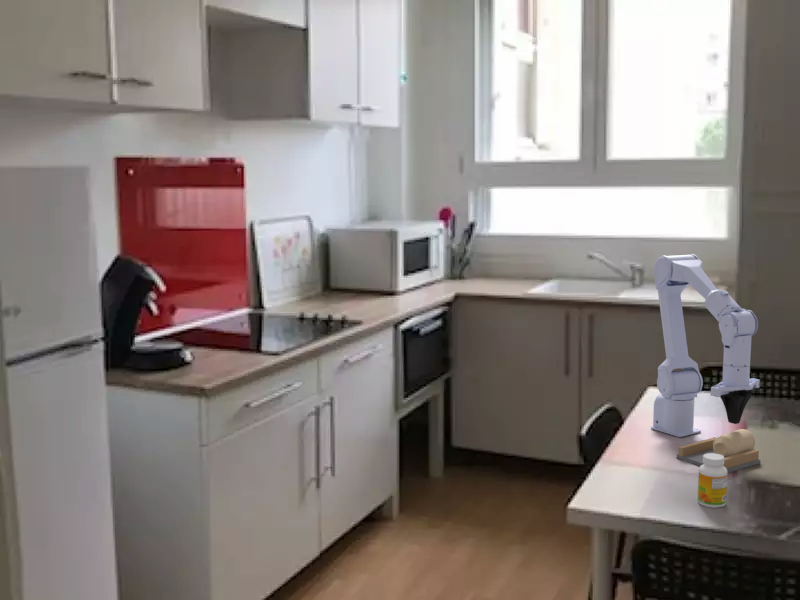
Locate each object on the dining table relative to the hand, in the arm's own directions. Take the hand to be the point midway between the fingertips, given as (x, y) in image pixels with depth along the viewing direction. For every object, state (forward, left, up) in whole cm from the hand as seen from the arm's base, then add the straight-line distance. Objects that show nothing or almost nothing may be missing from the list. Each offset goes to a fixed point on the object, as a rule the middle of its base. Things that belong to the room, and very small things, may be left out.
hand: (733, 422), depth 210 cm
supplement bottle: (+16, -27, -8) cm, 32 cm away
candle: (+1, +3, -4) cm, 5 cm away
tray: (0, -5, -8) cm, 9 cm away
